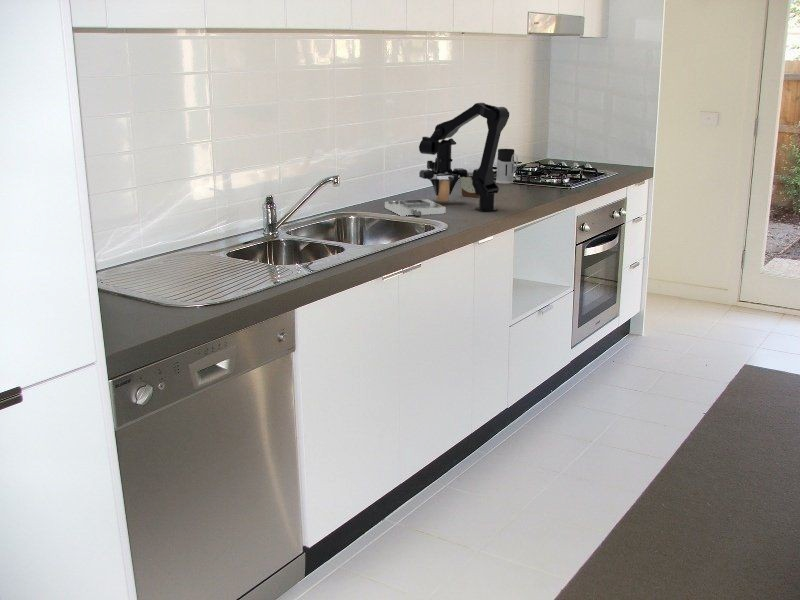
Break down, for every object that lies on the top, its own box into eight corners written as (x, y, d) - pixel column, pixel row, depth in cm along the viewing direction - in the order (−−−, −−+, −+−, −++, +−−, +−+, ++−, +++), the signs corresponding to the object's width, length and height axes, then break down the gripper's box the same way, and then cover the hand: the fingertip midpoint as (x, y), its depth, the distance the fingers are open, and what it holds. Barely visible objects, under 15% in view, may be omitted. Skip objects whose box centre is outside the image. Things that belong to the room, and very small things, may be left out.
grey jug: (508, 180, 415) (509, 148, 411) (524, 184, 403) (525, 151, 399) (491, 181, 412) (493, 148, 408) (507, 185, 400) (509, 152, 395)
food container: (491, 197, 369) (492, 173, 366) (485, 199, 364) (485, 175, 361) (464, 194, 375) (465, 171, 372) (458, 197, 370) (459, 173, 367)
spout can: (451, 200, 351) (451, 180, 349) (439, 201, 350) (440, 181, 347) (444, 198, 357) (445, 178, 355) (433, 198, 356) (433, 178, 354)
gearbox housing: (448, 215, 331) (448, 205, 330) (403, 217, 325) (403, 208, 324) (427, 205, 350) (427, 196, 349) (384, 208, 344) (384, 199, 343)
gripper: (457, 152, 358) (456, 190, 362) (414, 154, 352) (414, 193, 356) (468, 155, 348) (467, 195, 352) (424, 157, 342) (424, 197, 346)
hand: (443, 195), depth 352 cm, fingers closed on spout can, 5 cm apart
